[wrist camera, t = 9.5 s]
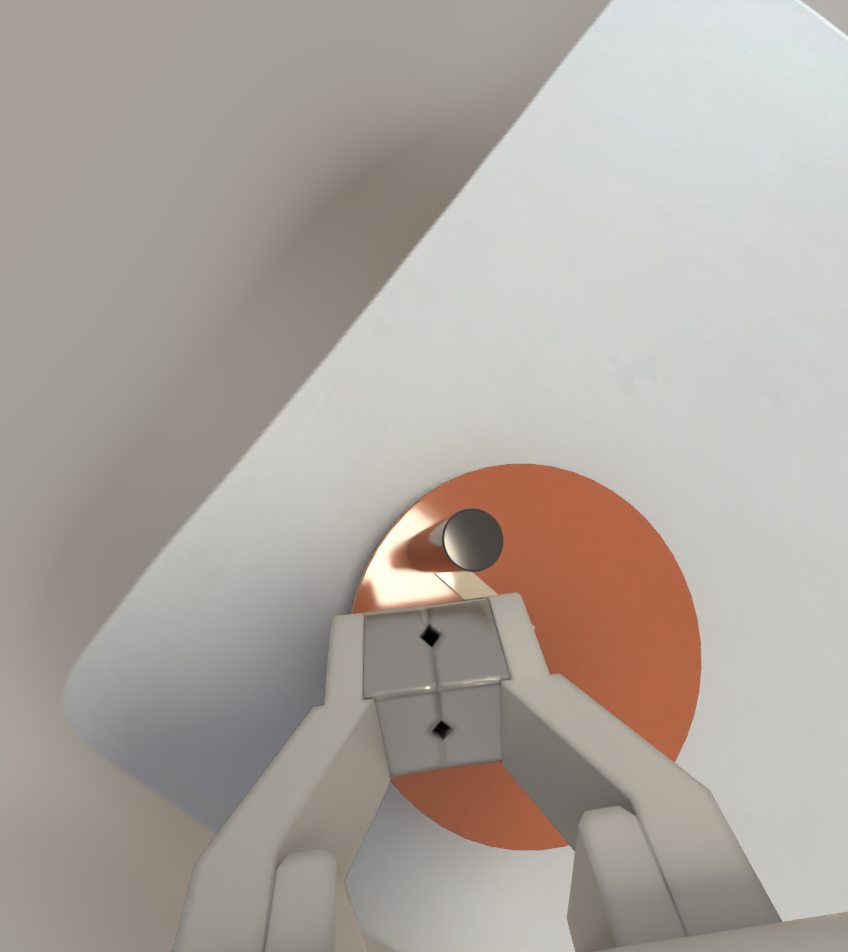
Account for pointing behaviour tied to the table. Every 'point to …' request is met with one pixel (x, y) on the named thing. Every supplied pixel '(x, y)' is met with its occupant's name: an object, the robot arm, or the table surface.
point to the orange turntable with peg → (546, 617)
